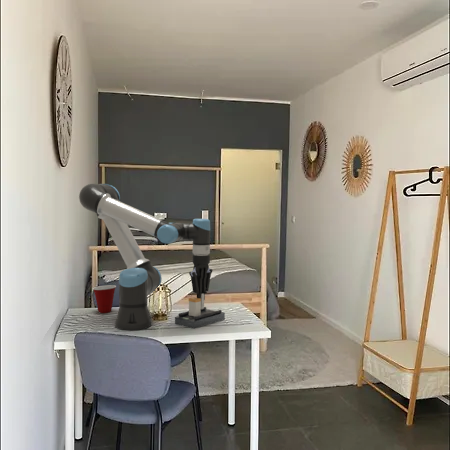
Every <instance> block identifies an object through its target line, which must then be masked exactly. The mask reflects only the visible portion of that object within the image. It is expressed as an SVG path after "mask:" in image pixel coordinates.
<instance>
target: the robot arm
mask: <svg viewBox="0 0 450 450" xmlns="http://www.w3.org/2000/svg"><path fill="white" fill-rule="evenodd" d="M79 191H80V192H79V195H78V196H79V197H78V199H79V202H80V204H81V206H82V207H83V208H84V209H86V210H88V211H90V212H92V213H94V214H95V215H96V216H97V218H98V219H101V220H102V221H103V222H104V224H105V227H106V228H107V230H108V232H109V234H110V236H111V238H112V240H113V242H114V244H115V246H116V247H117V249H118V252H119V254H120V255H121V258H122V260H123V261H124V264H125V266H126V268H125V269H122V271H120V273H119V275H118V276H119V277H118V301H119V302H118V303H119V305H118V307H119V308H118V311H117V314H116V317H115V320H114V327H115V328H117V329H119V330H126V331H135V330H143V329H147V328H149V327H151V326H152V325H153V324H152V321H153V320H152V317H151V313H150V310H149V307H148V295H151V294H152V293H154V292H153V291H155V289H156V288H157V287H158V286H159V285H160V286H161V284H162V273H161V272H160V270H159V269H158V268H157V267H155V266H153V264H152V262H151V260H150V259H148V258H145V255H144V254H143V252H142V250H141V249H140V246H139V244H138V243H137V240H136V239H135V236H134V235H133V233H132V230H131V229H130V226H131V227H132V228H135V229H137V230H139V231H141V232H143V233H146V234H148V235H151V236H152V237H155V238H157V239H158V240H159V242H161V243H163V244H173V243H175V242H178V241H192V263H193V268H192V270H191V271H189V273H188V274H189V277H190V279H191V280H190V281H191V285H192V286H191V287H192V293H193V294H196V298H201V309H204V307H205V301H206V296H205V295H206V294H207V293H208V292H209V288H210V283H211V276H212V273H213V271H214V270H213V269H212V268H210V266H209V264H210V263H211V255H210V254H211V230H212V229H211V220H210V219H209V218H194V219H192V222H186V223H185V222H173V221H172V222H168V221H165V220H163V219H161V218H158V217H157V216H154V215H151V214H149V213H146V212H145V211H142V210H140V209H138V208H135V207H133V206H131V205H129V204H126V203H124V202H122V201H120V200H121V195H120V192H119V191H118V189H117V188H116V187H115V186H113V185H111V184H108V183H89V184H86V185H84V186H83V187H82V188H81V190H79ZM160 286H159V287H160ZM155 292H156V291H155Z"/></svg>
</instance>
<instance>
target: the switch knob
mask: <svg viewBox="0 0 450 450" xmlns="http://www.w3.org/2000/svg"><path fill="white" fill-rule="evenodd" d="M188 311H189V315H190V316H194V317H196V316H200V315H201V298H197V296H192V297H188Z"/></svg>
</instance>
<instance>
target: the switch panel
mask: <svg viewBox="0 0 450 450" xmlns="http://www.w3.org/2000/svg"><path fill="white" fill-rule="evenodd" d="M225 315H226V312H223V311H222V310H221V309H219V310H214V309H208V308H207V307H206V306H204V309H201V315H200V316H196V317H194V316H190V315H189V310H188V311H183V312H180V313H178V314H177V316H174V325H178V326H180V327H181V326H182V327H184V328H190V329H197V328H201V327H203V326H207V325H210V324H214V323H217V322H220V321H224V320H225Z"/></svg>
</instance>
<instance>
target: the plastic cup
mask: <svg viewBox="0 0 450 450" xmlns="http://www.w3.org/2000/svg"><path fill="white" fill-rule="evenodd" d="M116 287H117V285H116V284H115V285H113V284H112V285H111V284H110V285H99V286H94V287H92V290H93V292H94V295H95V301H96V306H97V310H98V313H99V312H100V314H107V313H111V312H112V309H113V305H114V304H113V303H114V297H115V296H114V295H115V292H116Z"/></svg>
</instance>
